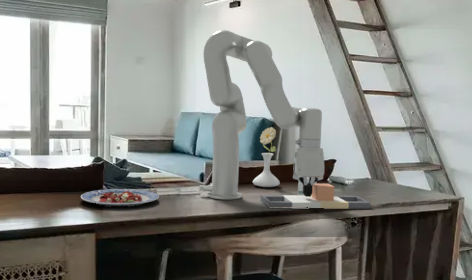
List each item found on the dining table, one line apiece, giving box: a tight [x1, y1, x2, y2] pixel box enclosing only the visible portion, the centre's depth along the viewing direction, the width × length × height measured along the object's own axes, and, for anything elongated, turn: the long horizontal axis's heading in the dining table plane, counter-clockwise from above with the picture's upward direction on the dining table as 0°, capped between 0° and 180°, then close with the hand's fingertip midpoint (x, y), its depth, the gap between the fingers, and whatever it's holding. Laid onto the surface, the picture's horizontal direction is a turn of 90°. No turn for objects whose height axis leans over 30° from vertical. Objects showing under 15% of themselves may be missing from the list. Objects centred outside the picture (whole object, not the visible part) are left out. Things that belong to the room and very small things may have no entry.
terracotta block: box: [312, 183, 335, 201], centre depth 185 cm, size 6×6×5 cm
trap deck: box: [260, 194, 372, 210], centre depth 185 cm, size 36×13×2 cm, turn 100°
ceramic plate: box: [80, 188, 160, 207], centre depth 178 cm, size 26×26×3 cm
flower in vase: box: [252, 126, 280, 188], centre depth 218 cm, size 13×11×25 cm
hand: (307, 195), depth 185 cm, fingers closed
